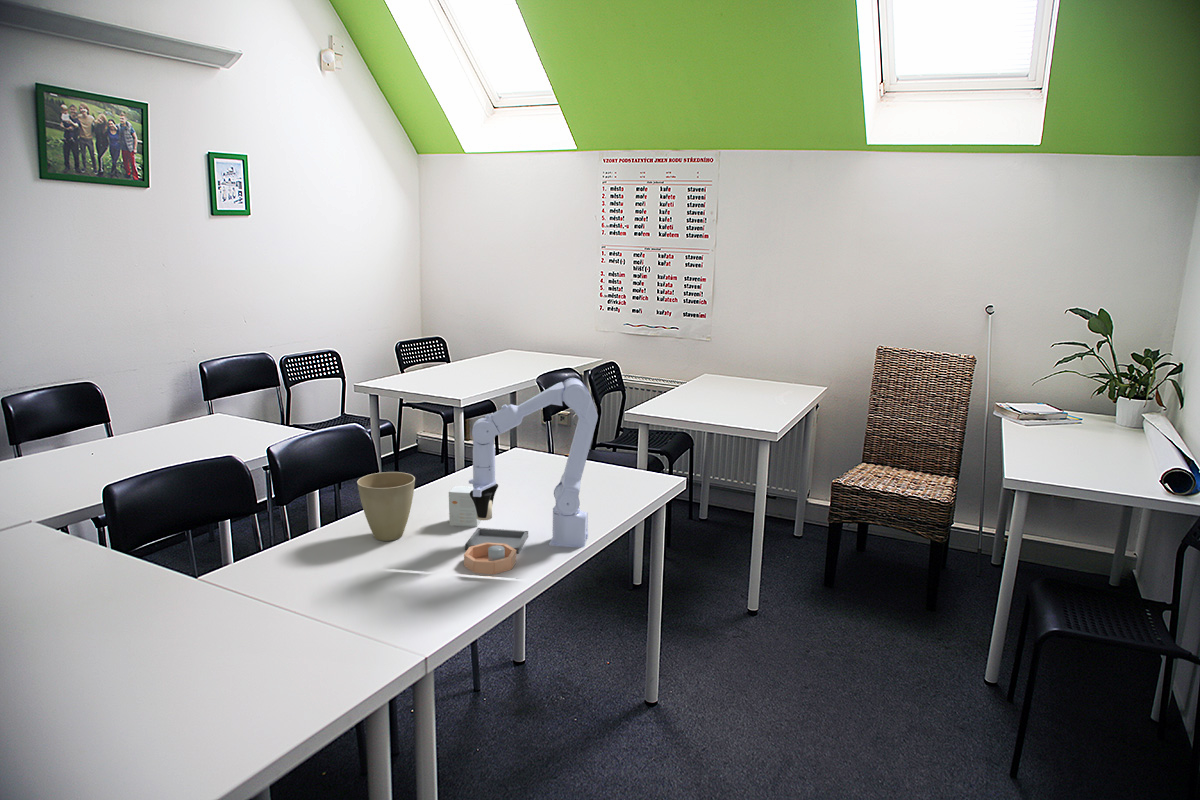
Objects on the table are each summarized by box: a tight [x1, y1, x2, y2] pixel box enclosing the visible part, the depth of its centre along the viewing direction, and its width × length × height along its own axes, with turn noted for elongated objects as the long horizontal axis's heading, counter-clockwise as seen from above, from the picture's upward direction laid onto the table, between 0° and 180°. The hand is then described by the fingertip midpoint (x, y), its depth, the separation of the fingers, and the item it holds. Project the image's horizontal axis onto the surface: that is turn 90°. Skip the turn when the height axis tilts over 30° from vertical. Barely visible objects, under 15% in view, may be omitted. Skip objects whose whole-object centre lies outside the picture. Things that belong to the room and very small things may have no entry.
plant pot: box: [356, 471, 416, 542], centre depth 209 cm, size 15×15×16 cm
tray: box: [464, 527, 529, 555], centre depth 206 cm, size 14×12×2 cm
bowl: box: [463, 542, 517, 577], centre depth 193 cm, size 12×12×4 cm
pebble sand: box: [477, 500, 493, 521], centre depth 205 cm, size 4×4×4 cm
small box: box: [448, 485, 482, 528], centre depth 219 cm, size 8×6×10 cm
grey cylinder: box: [488, 545, 505, 561], centre depth 191 cm, size 4×4×4 cm
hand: (484, 514), depth 205 cm, fingers closed on pebble sand, 4 cm apart
